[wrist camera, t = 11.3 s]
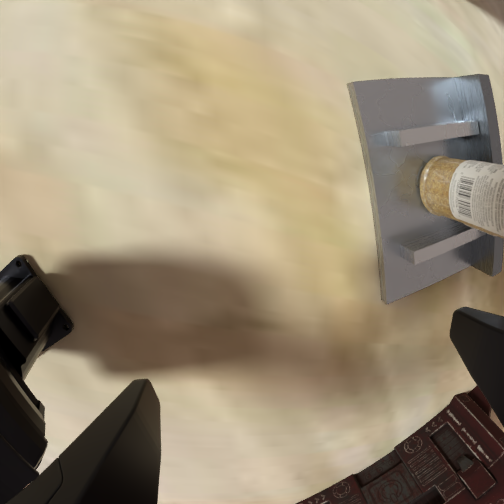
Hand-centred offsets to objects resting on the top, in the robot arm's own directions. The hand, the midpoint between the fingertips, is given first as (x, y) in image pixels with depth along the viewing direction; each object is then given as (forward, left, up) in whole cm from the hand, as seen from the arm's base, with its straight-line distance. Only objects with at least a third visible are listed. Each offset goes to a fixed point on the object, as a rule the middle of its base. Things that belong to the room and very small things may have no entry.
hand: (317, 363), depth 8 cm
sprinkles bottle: (+14, -4, -12) cm, 19 cm away
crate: (0, -42, -13) cm, 44 cm away
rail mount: (+14, -4, -13) cm, 20 cm away
